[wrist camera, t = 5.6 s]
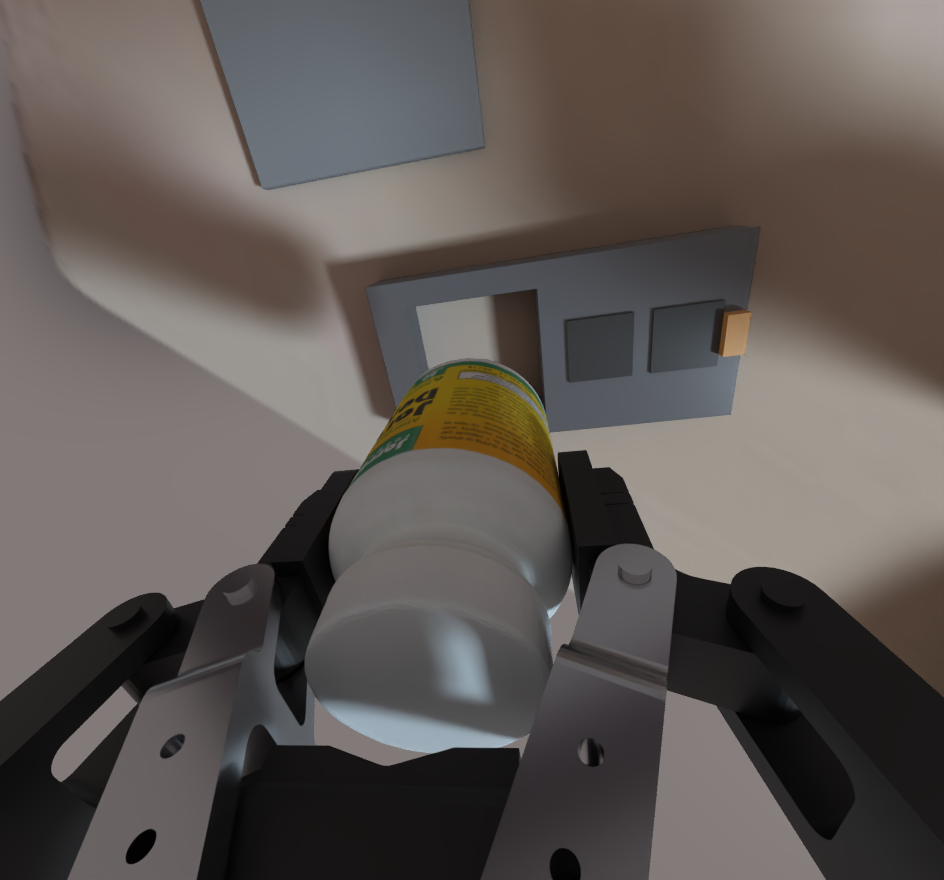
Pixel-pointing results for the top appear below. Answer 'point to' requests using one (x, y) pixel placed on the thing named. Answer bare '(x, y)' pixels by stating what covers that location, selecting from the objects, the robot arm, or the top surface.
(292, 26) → the charging mat
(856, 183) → the top surface
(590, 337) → the gray slotted block
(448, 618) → the supplement bottle
